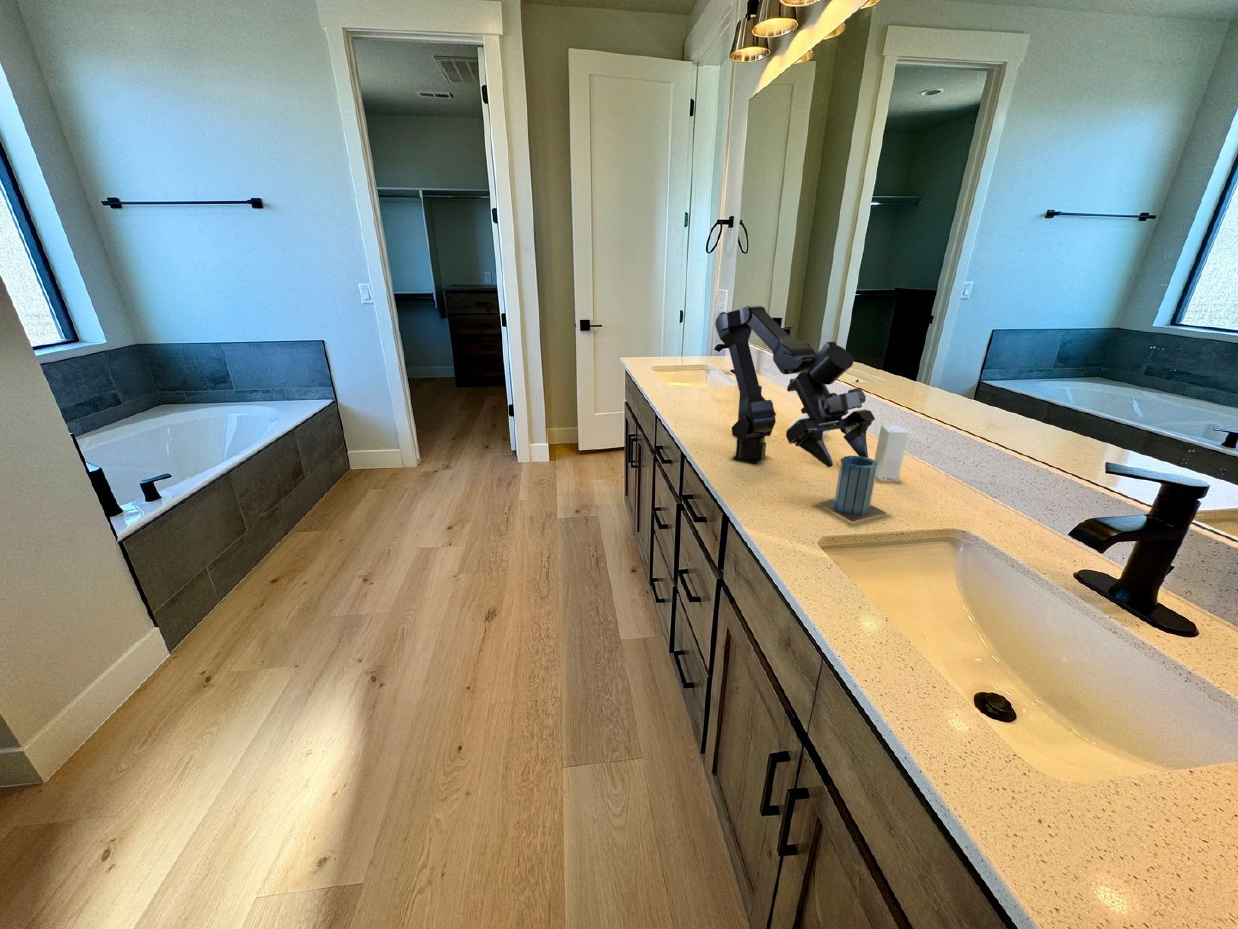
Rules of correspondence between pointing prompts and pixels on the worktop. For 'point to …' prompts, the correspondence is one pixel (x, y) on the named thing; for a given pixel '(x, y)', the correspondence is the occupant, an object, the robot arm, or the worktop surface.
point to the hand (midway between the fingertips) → (848, 463)
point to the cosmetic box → (890, 452)
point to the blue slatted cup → (855, 485)
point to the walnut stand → (851, 517)
